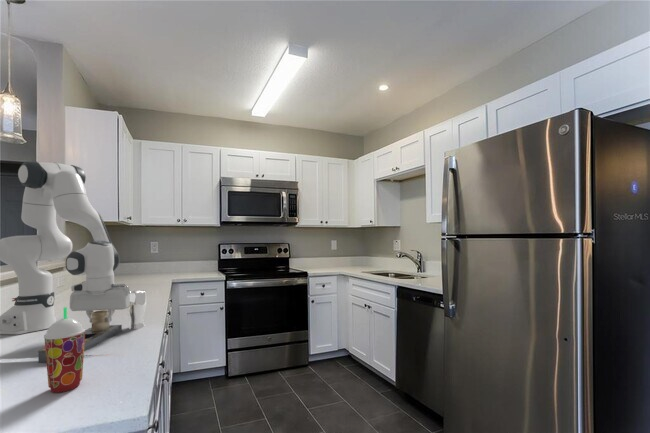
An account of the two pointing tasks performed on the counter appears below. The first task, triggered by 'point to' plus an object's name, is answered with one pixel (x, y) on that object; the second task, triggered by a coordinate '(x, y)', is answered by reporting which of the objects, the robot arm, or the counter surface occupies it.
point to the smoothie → (64, 354)
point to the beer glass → (137, 309)
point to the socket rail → (89, 339)
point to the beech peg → (99, 320)
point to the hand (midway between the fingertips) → (100, 322)
